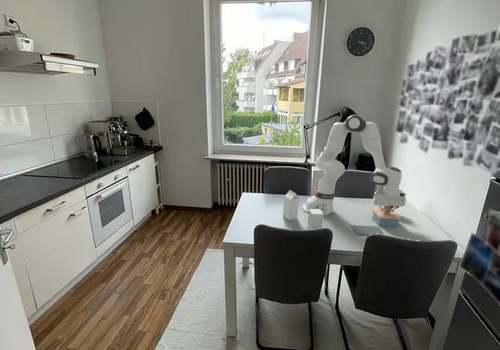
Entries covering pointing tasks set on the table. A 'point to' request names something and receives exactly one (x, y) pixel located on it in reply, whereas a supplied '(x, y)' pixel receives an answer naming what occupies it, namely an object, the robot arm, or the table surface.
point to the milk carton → (290, 206)
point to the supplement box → (315, 219)
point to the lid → (386, 213)
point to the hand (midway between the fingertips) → (386, 211)
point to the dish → (385, 221)
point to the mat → (366, 230)
